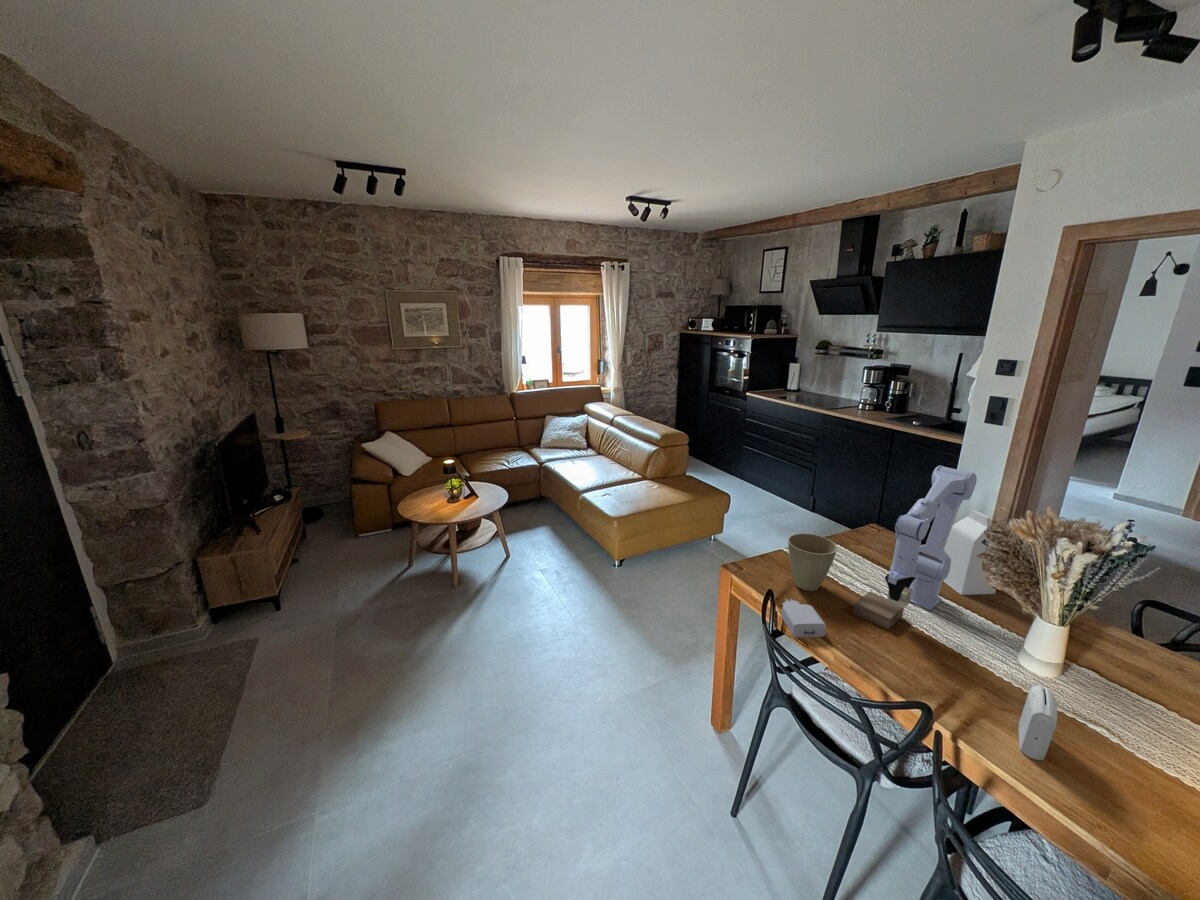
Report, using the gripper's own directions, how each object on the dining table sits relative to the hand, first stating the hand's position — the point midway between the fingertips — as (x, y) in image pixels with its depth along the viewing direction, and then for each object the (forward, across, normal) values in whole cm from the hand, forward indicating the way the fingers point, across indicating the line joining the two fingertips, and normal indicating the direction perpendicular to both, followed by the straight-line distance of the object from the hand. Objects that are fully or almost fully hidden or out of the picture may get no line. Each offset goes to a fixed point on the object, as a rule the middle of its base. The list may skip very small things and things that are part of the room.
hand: (897, 596), depth 137 cm
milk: (+9, +40, -6) cm, 42 cm away
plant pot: (+9, -2, +26) cm, 28 cm away
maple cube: (+2, 0, 0) cm, 2 cm away
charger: (+9, -22, +18) cm, 30 cm away
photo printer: (+9, -21, -36) cm, 42 cm away
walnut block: (+9, -1, +4) cm, 10 cm away
